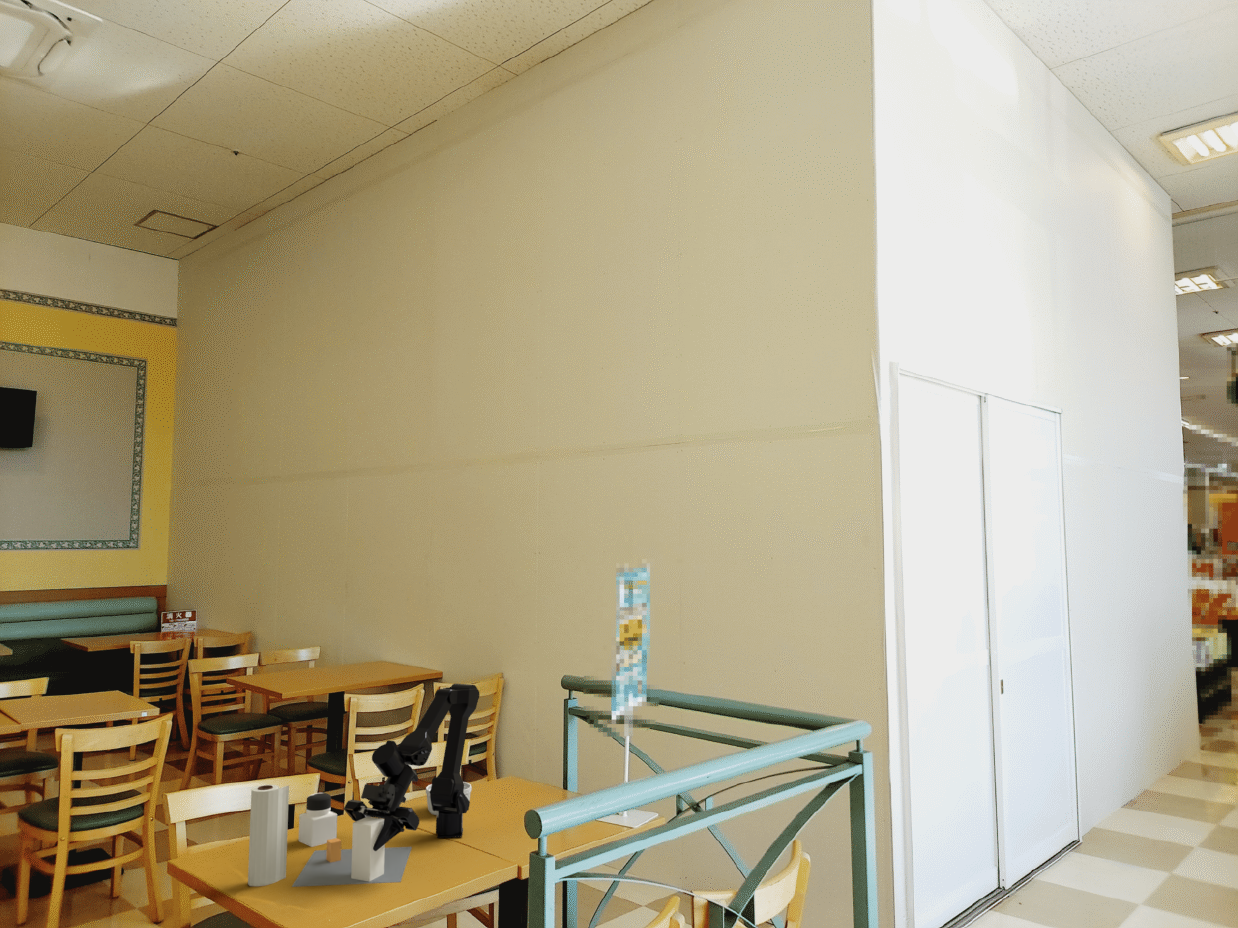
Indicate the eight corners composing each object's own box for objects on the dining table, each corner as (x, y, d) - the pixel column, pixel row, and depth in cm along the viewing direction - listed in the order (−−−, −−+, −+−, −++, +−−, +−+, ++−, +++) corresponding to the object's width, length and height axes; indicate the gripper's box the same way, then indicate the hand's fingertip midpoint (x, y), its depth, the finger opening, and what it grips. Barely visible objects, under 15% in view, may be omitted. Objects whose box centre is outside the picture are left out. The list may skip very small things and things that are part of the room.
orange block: (336, 857, 219) (337, 837, 219) (340, 859, 217) (341, 840, 217) (326, 859, 217) (326, 840, 218) (330, 862, 215) (331, 842, 216)
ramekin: (426, 805, 265) (426, 781, 265) (470, 803, 267) (471, 779, 268) (424, 818, 252) (425, 793, 252) (471, 816, 254) (472, 791, 255)
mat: (411, 848, 227) (411, 846, 227) (400, 883, 203) (400, 881, 203) (314, 851, 224) (314, 850, 224) (291, 888, 200) (291, 886, 200)
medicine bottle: (337, 841, 232) (338, 794, 233) (311, 848, 227) (313, 799, 228) (323, 835, 237) (324, 789, 238) (297, 842, 232) (299, 794, 233)
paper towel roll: (242, 886, 201) (245, 789, 203) (257, 877, 207) (261, 782, 209) (271, 889, 200) (274, 791, 202) (285, 879, 206) (289, 784, 208)
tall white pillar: (366, 870, 210) (367, 816, 211) (383, 873, 208) (385, 819, 209) (351, 877, 205) (352, 822, 206) (369, 881, 203) (371, 825, 204)
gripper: (349, 765, 216) (316, 825, 205) (413, 773, 209) (382, 835, 198) (370, 790, 223) (338, 849, 211) (432, 798, 215) (403, 860, 204)
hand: (364, 848), depth 206 cm, fingers closed on tall white pillar, 5 cm apart
